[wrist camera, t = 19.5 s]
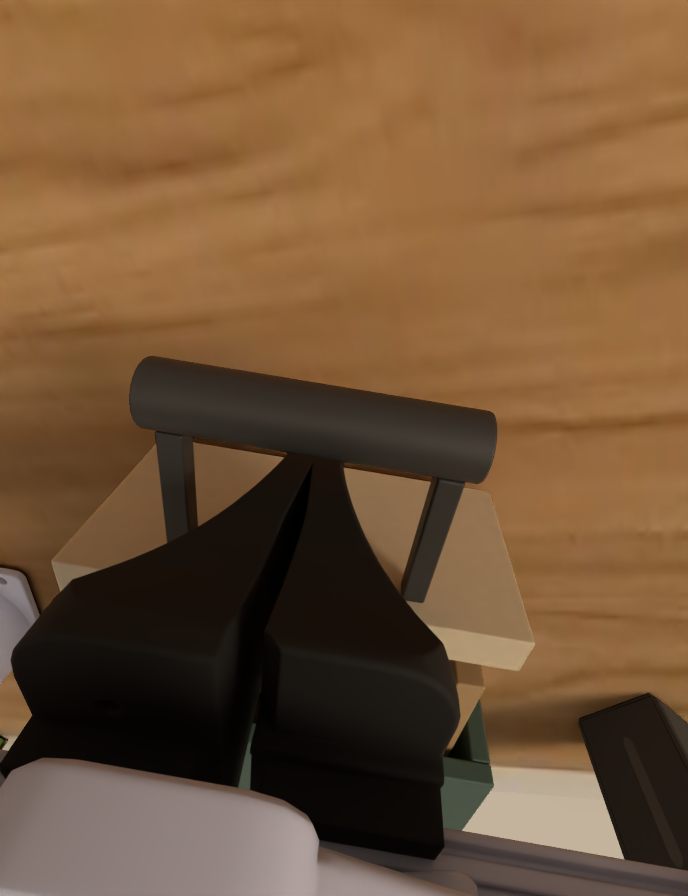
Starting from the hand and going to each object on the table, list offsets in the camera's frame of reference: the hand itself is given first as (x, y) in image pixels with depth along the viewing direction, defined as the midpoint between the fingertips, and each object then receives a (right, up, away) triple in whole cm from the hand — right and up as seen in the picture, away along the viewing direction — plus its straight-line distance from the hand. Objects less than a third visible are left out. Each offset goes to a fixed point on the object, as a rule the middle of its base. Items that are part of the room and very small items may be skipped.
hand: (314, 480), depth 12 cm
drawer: (0, -3, +6) cm, 7 cm away
